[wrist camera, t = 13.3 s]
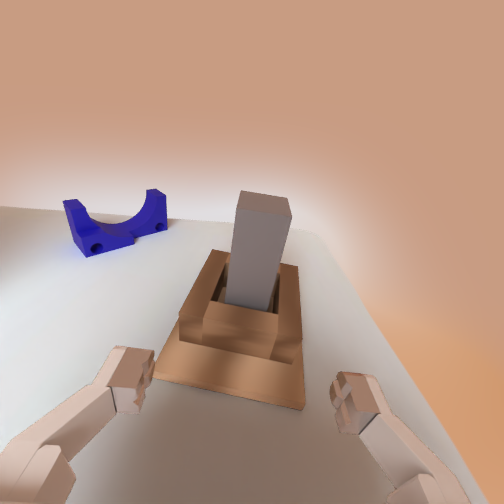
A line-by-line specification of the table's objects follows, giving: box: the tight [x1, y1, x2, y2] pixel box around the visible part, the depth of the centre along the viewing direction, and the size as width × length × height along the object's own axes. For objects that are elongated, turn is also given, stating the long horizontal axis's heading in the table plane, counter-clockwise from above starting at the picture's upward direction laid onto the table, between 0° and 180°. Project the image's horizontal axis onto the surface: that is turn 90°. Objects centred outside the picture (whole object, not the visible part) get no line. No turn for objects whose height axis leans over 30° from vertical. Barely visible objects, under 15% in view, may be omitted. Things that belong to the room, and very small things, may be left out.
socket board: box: [153, 249, 305, 410], centre depth 24 cm, size 12×16×4 cm
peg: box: [224, 191, 292, 312], centre depth 22 cm, size 4×4×12 cm
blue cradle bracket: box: [63, 189, 167, 258], centre depth 33 cm, size 12×4×6 cm, turn 137°
